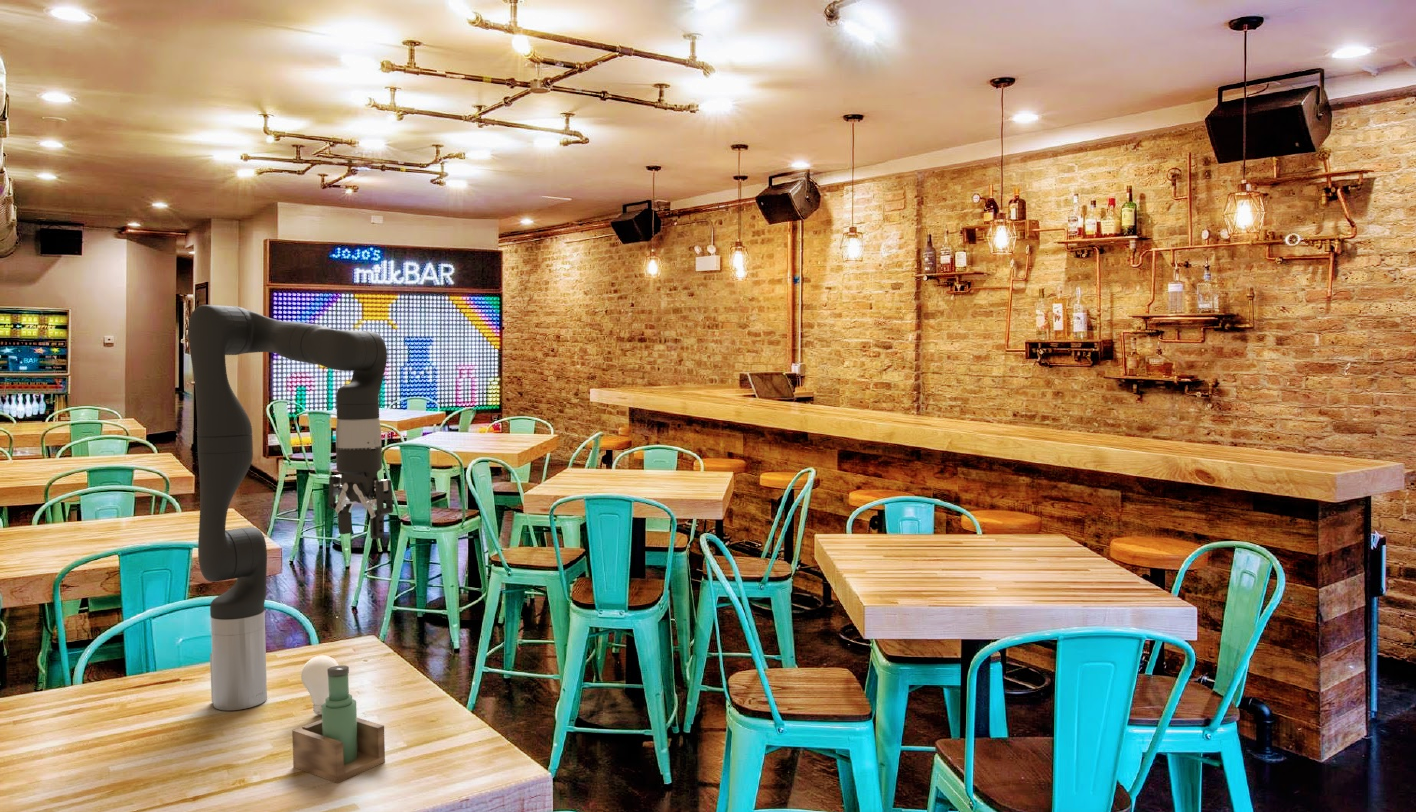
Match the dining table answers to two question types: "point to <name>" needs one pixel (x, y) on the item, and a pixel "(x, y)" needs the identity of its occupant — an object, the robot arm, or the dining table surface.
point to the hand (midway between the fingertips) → (361, 536)
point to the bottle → (340, 713)
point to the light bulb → (317, 680)
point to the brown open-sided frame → (337, 751)
